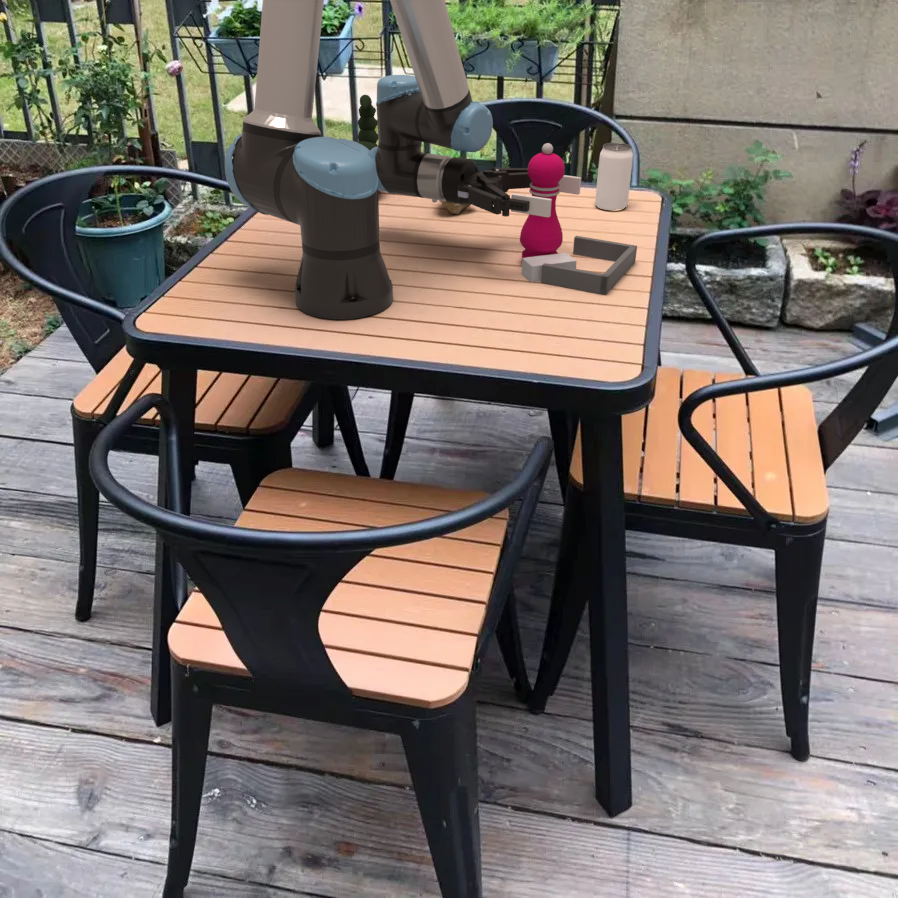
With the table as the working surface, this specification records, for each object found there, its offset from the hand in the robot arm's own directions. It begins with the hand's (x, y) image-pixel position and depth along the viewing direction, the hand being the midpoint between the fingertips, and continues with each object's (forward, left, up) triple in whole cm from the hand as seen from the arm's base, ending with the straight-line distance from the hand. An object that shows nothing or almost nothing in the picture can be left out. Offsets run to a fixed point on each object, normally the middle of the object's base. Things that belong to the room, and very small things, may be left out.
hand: (565, 196), depth 141 cm
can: (+36, +3, -12) cm, 38 cm away
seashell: (+21, +31, -12) cm, 39 cm away
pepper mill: (0, +4, -12) cm, 13 cm away
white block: (-4, 0, -12) cm, 13 cm away
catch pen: (0, -5, -12) cm, 13 cm away
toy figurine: (+23, +53, -12) cm, 59 cm away
